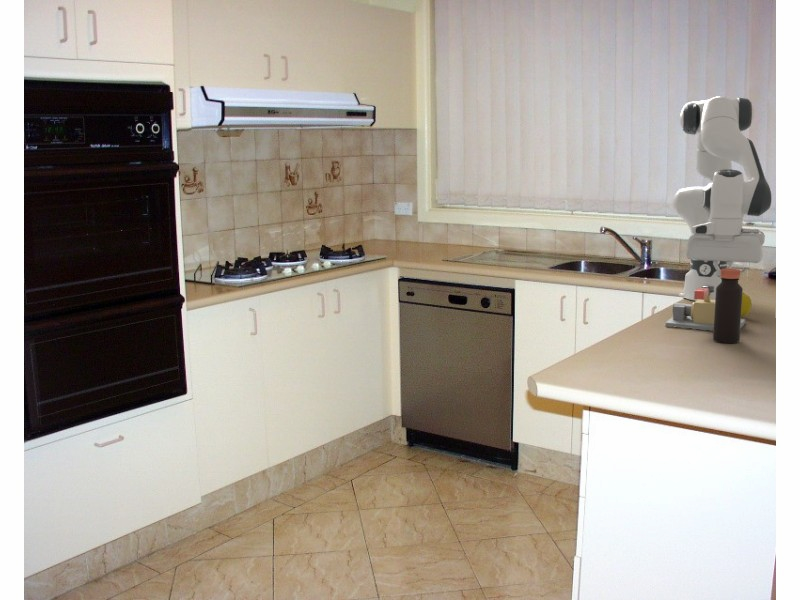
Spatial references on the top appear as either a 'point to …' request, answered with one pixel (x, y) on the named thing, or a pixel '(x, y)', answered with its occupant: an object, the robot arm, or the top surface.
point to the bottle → (728, 307)
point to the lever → (703, 292)
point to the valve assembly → (695, 315)
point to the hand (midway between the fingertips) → (722, 276)
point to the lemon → (745, 305)
